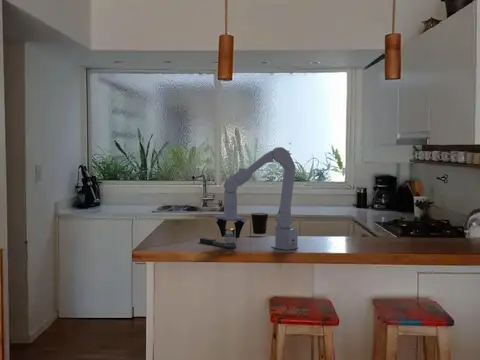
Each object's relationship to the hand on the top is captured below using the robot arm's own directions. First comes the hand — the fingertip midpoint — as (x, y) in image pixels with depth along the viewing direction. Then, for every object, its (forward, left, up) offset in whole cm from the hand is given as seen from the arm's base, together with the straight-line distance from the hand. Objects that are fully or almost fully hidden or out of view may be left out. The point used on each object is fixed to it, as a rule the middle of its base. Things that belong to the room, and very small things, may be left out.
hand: (230, 237), depth 240 cm
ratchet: (+8, 0, -5) cm, 9 cm away
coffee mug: (+20, -41, -5) cm, 46 cm away
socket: (0, 0, -2) cm, 2 cm away
